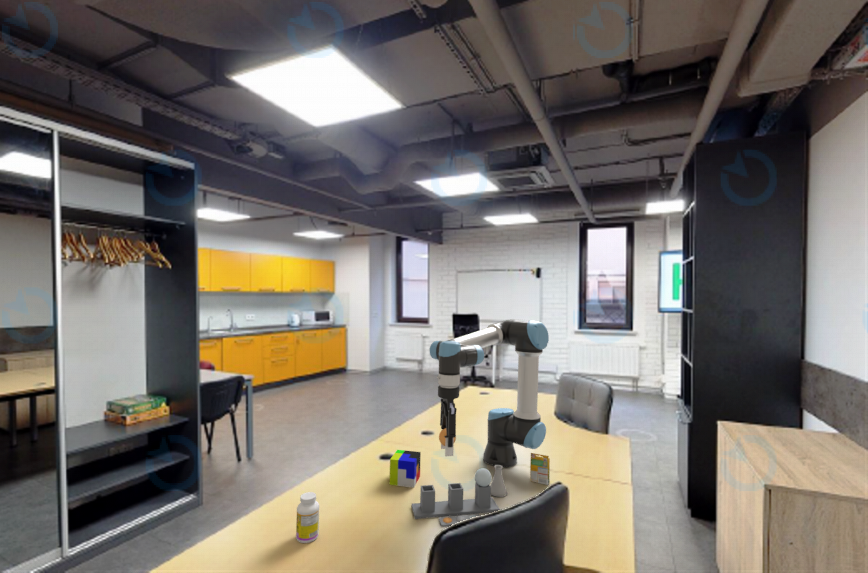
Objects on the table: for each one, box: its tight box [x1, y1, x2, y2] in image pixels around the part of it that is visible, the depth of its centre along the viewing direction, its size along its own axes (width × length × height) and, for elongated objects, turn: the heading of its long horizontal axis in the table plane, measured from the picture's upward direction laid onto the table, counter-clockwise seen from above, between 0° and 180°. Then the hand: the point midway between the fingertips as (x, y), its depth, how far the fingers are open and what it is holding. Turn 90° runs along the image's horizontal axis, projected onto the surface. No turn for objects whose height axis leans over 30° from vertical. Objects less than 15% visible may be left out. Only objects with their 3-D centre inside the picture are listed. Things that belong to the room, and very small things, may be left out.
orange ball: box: [438, 428, 457, 446], centre depth 141 cm, size 6×6×6 cm
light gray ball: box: [474, 467, 493, 487], centre depth 143 cm, size 6×6×6 cm
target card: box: [438, 514, 481, 528], centre depth 134 cm, size 14×4×1 cm, turn 101°
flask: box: [490, 465, 508, 498], centre depth 154 cm, size 7×7×10 cm
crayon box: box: [529, 452, 551, 486], centre depth 163 cm, size 7×3×12 cm, turn 65°
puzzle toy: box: [388, 449, 421, 489], centre depth 162 cm, size 10×10×10 cm
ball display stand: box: [411, 481, 501, 520], centre depth 142 cm, size 30×8×8 cm, turn 101°
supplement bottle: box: [295, 491, 320, 544], centre depth 124 cm, size 7×7×13 cm
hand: (446, 451), depth 141 cm, fingers closed on orange ball, 6 cm apart
